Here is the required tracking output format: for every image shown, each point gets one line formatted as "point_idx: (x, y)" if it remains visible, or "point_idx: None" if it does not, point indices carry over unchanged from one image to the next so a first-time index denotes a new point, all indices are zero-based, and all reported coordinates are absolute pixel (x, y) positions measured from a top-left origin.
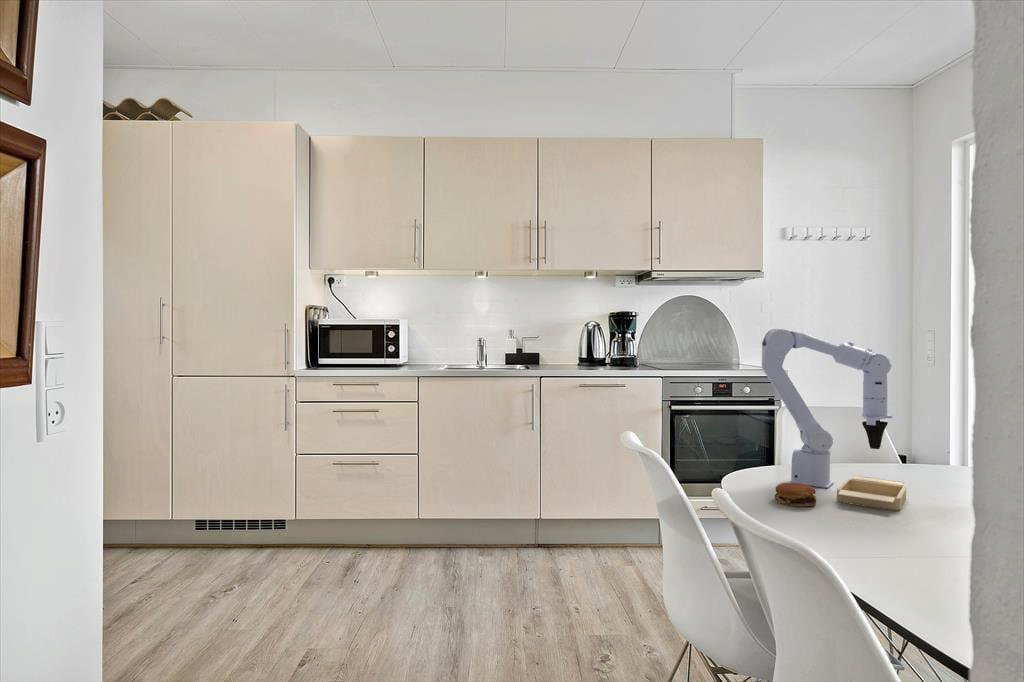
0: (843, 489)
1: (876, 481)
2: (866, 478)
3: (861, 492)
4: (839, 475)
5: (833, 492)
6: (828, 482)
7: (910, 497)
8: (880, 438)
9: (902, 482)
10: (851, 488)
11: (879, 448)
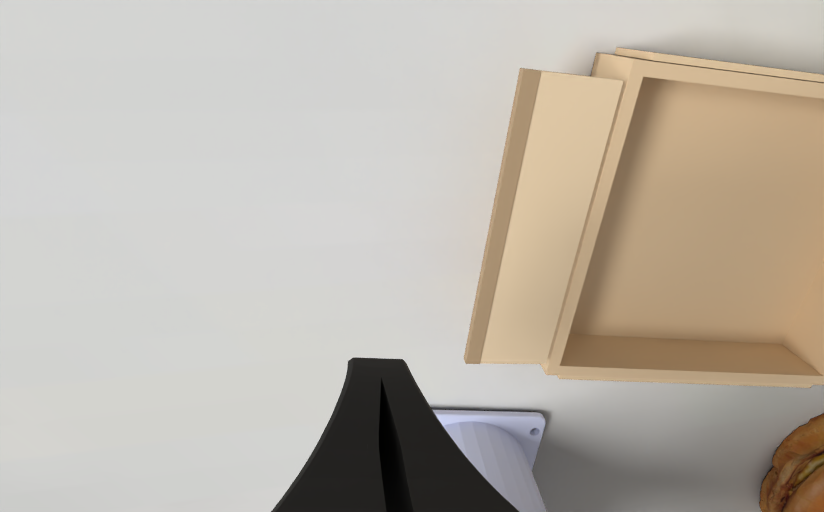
0: (733, 362)
1: (572, 239)
2: (516, 296)
3: (589, 279)
4: (164, 408)
5: (603, 381)
6: (489, 429)
7: (549, 18)
8: (452, 440)
9: (542, 80)
10: None
11: (358, 358)
